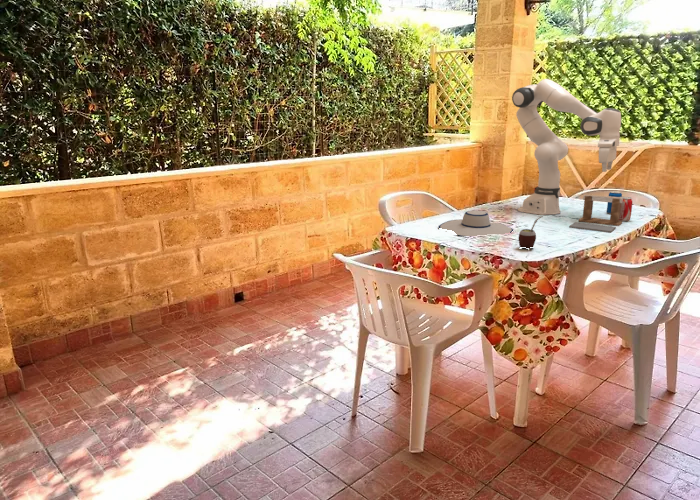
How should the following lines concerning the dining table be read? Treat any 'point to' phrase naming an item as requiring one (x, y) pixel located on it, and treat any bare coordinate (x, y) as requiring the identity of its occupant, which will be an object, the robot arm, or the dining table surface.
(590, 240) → the dining table surface
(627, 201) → the soda can
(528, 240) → the mate gourd
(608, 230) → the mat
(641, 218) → the dining table surface
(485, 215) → the sun hat
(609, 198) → the rail
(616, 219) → the rack
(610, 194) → the beverage can
